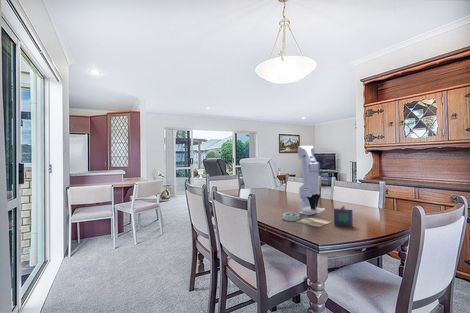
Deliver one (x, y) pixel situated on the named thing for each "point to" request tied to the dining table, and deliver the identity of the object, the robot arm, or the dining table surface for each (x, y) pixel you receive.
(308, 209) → the cover
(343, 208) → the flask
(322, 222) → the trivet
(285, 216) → the bowl
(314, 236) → the dining table surface
